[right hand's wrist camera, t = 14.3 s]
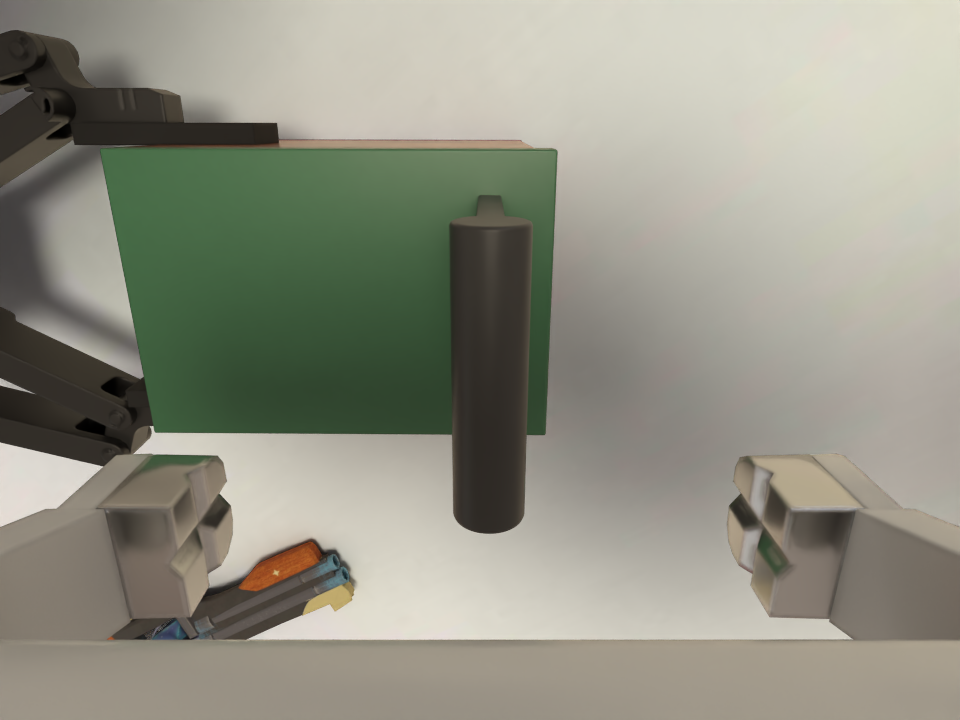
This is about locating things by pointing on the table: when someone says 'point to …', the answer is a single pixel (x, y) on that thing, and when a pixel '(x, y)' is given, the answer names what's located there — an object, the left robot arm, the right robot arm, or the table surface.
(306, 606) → the toy gun
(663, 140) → the table surface
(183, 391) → the lid
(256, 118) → the table surface
